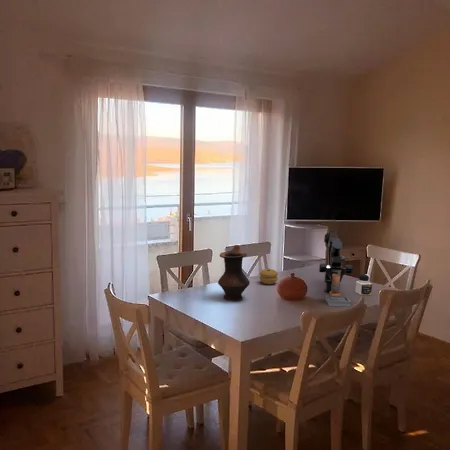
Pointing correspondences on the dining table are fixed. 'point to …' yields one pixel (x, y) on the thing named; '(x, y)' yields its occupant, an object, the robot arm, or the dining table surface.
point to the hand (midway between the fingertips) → (336, 281)
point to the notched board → (338, 301)
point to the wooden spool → (335, 285)
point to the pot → (268, 276)
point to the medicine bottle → (363, 285)
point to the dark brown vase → (233, 274)
